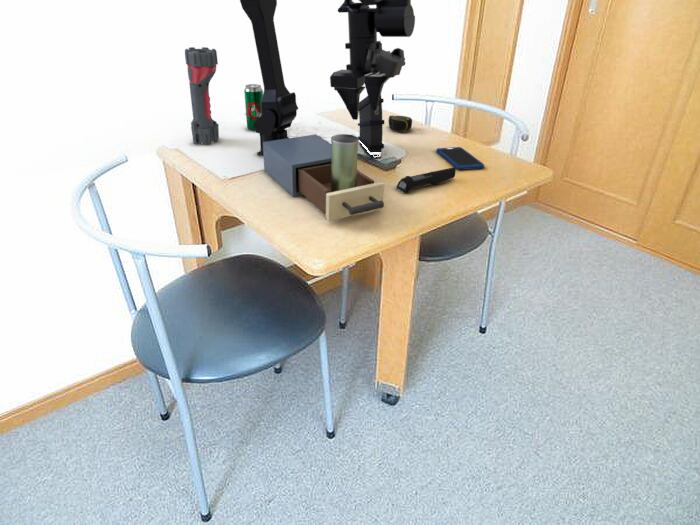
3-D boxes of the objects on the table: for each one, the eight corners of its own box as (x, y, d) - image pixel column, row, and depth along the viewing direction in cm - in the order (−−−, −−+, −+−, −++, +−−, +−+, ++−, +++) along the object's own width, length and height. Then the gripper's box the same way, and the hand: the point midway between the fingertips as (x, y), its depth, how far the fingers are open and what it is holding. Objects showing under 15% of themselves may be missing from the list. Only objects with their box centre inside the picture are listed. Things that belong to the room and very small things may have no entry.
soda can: (256, 125, 143) (253, 82, 137) (268, 128, 141) (266, 85, 134) (243, 129, 140) (239, 85, 133) (256, 132, 137) (253, 89, 131)
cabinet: (348, 185, 109) (349, 155, 105) (293, 197, 103) (292, 165, 99) (315, 162, 120) (315, 134, 116) (264, 171, 114) (262, 142, 110)
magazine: (372, 157, 120) (368, 94, 118) (359, 161, 132) (354, 104, 130) (387, 156, 121) (383, 93, 118) (372, 160, 133) (368, 104, 131)
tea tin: (325, 200, 97) (326, 139, 90) (337, 191, 101) (339, 132, 94) (348, 206, 95) (350, 144, 88) (360, 197, 99) (363, 137, 92)
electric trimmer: (458, 182, 113) (460, 169, 111) (405, 194, 106) (407, 181, 104) (447, 177, 116) (449, 164, 114) (395, 188, 108) (396, 175, 107)
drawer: (394, 216, 95) (396, 191, 92) (339, 230, 89) (340, 204, 86) (346, 182, 108) (346, 159, 105) (295, 192, 102) (294, 168, 100)
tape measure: (410, 127, 147) (411, 114, 145) (411, 134, 141) (413, 121, 139) (387, 126, 147) (388, 113, 145) (388, 133, 141) (389, 120, 139)
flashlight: (228, 136, 134) (219, 46, 121) (221, 146, 127) (210, 52, 115) (200, 135, 134) (188, 45, 121) (191, 144, 127) (178, 50, 115)
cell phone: (460, 149, 131) (460, 146, 131) (485, 168, 120) (485, 165, 120) (435, 150, 130) (435, 148, 129) (458, 170, 118) (458, 167, 118)
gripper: (378, 42, 89) (379, 128, 96) (417, 32, 103) (415, 107, 110) (326, 42, 94) (331, 123, 101) (370, 32, 107) (371, 104, 115)
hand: (365, 114), depth 107 cm, fingers open, 9 cm apart
